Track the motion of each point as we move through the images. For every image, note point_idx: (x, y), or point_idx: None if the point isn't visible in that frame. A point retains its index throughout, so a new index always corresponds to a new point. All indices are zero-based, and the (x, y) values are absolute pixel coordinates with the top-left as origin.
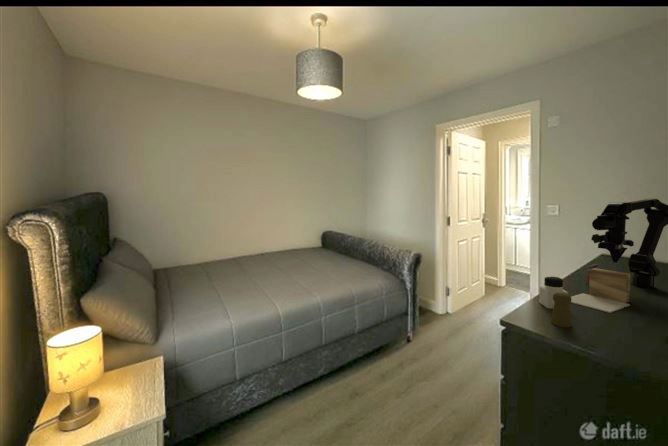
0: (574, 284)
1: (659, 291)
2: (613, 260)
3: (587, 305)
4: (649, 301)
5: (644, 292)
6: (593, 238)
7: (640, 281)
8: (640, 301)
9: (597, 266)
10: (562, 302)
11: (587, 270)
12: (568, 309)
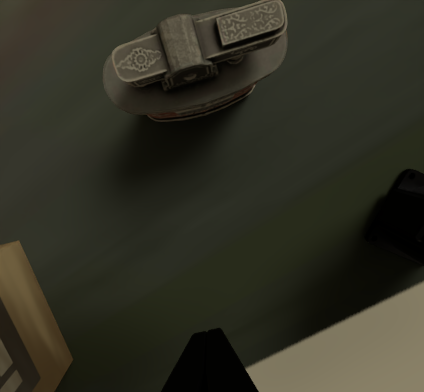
0: (73, 56)
1: (376, 295)
2: (184, 363)
3: None
4: (163, 373)
5: (292, 288)
6: None
7: (405, 239)
8: (127, 365)
9: (272, 44)
10: None
11: (105, 65)
12: None
